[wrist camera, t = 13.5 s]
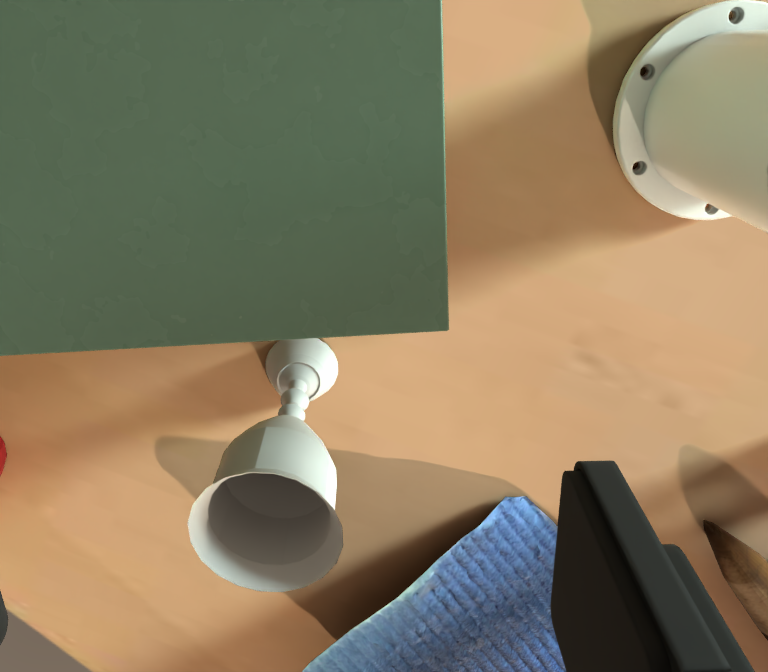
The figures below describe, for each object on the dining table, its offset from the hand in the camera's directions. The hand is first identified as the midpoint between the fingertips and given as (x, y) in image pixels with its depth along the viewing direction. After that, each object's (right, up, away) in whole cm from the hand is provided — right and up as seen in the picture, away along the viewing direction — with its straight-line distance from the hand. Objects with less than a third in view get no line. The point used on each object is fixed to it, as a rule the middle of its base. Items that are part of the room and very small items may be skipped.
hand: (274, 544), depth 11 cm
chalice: (-4, +1, +39) cm, 39 cm away
